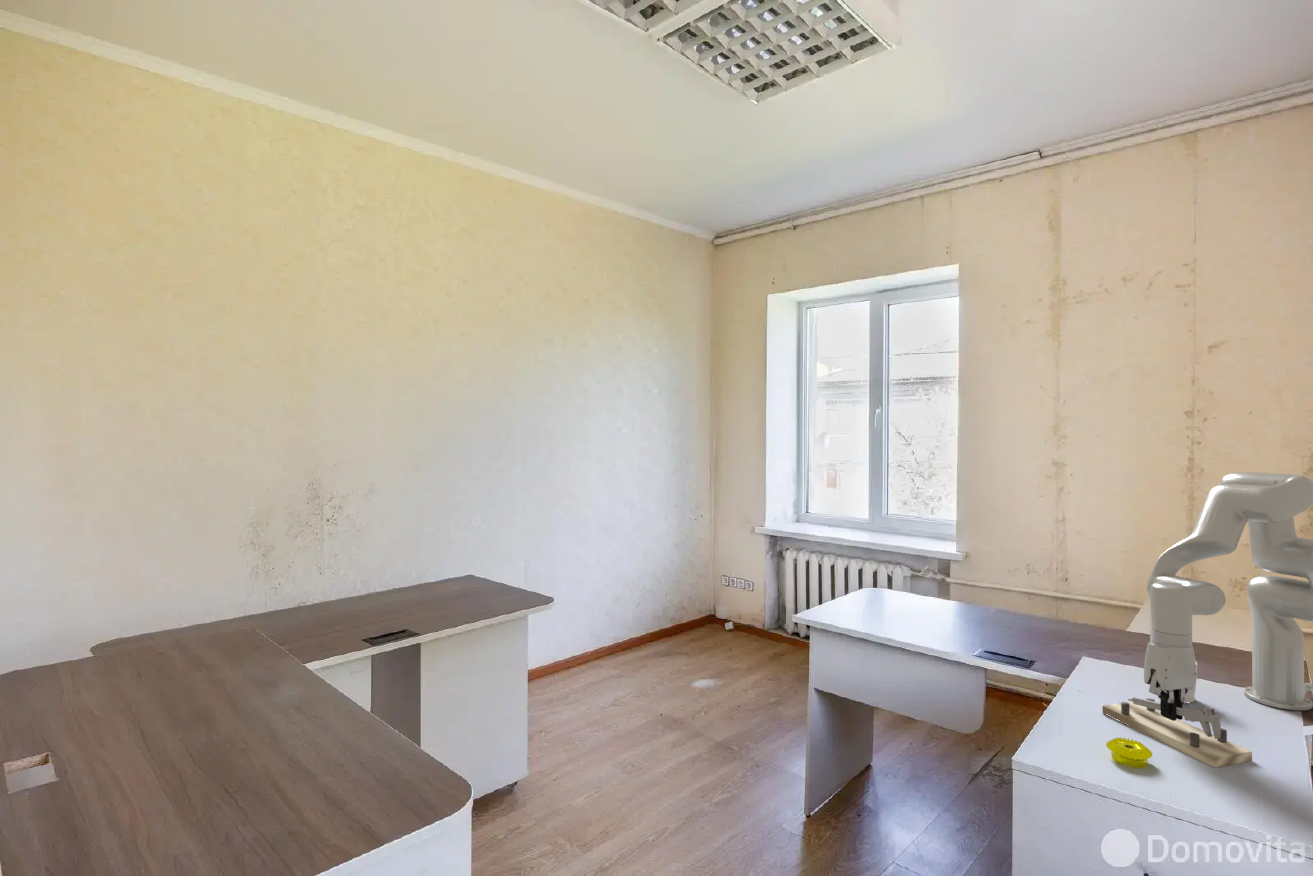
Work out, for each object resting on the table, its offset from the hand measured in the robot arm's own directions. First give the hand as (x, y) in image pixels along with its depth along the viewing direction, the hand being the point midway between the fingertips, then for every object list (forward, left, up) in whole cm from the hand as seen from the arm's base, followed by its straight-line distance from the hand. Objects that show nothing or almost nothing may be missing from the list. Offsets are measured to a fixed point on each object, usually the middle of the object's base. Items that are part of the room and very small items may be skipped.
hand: (1171, 717), depth 148 cm
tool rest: (0, 0, -4) cm, 4 cm away
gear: (+19, +6, -5) cm, 21 cm away
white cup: (-21, -15, -4) cm, 26 cm away
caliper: (0, 0, -1) cm, 1 cm away
